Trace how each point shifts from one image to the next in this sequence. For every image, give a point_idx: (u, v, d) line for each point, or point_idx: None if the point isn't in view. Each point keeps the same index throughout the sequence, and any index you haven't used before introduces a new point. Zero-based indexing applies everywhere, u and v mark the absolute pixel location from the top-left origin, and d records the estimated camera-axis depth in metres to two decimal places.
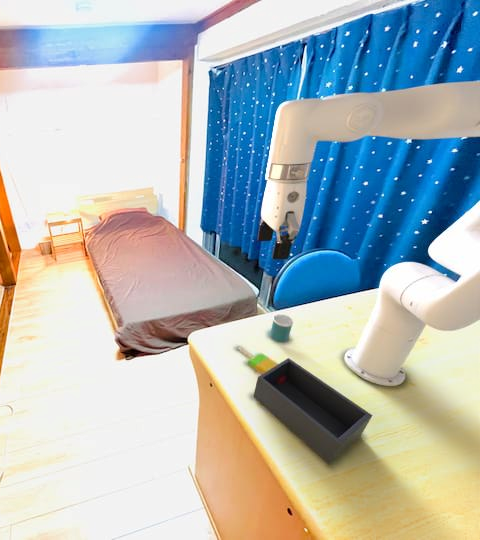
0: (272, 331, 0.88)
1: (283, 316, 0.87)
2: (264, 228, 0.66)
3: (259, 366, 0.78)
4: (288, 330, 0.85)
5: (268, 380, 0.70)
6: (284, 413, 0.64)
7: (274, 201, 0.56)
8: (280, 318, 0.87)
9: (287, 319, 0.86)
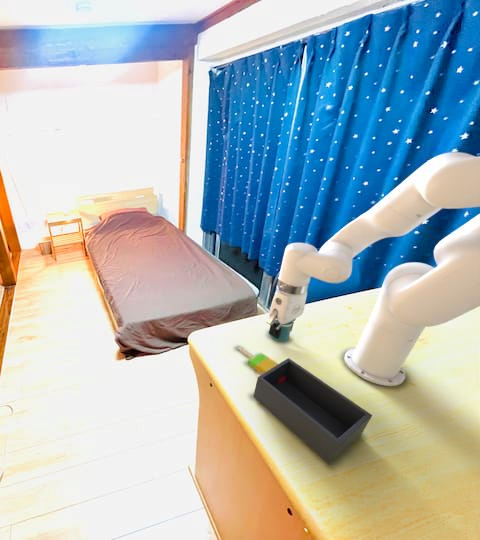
0: None
1: None
2: None
3: (259, 366, 0.78)
4: (288, 330, 0.85)
5: (268, 380, 0.70)
6: (284, 413, 0.64)
7: None
8: None
9: None
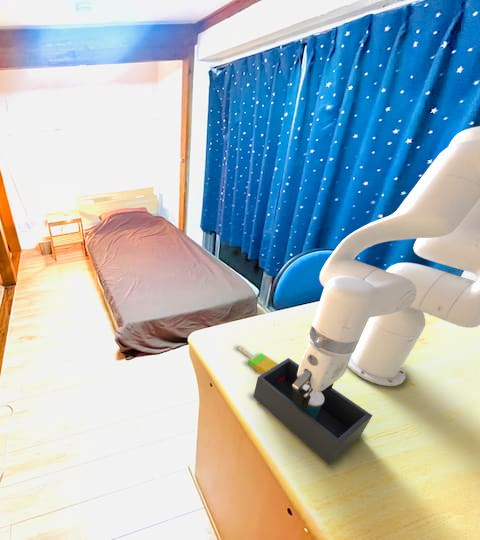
0: None
1: None
2: None
3: (259, 366, 0.78)
4: (317, 410, 0.62)
5: (268, 380, 0.70)
6: (284, 413, 0.64)
7: None
8: None
9: (316, 394, 0.63)
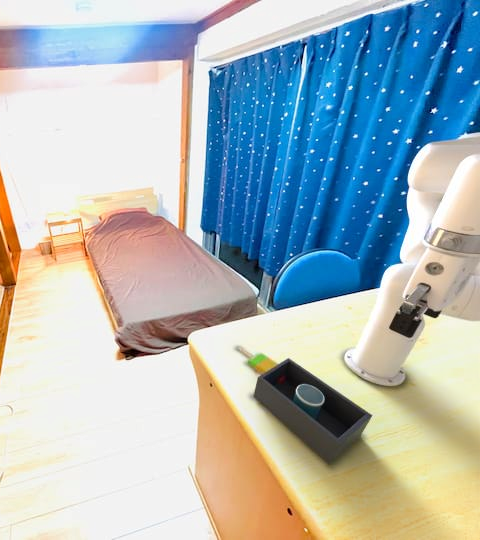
0: None
1: (310, 389, 0.64)
2: None
3: (259, 366, 0.78)
4: (317, 410, 0.62)
5: (268, 380, 0.70)
6: (284, 413, 0.64)
7: None
8: (305, 392, 0.64)
9: (316, 394, 0.63)
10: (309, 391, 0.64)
